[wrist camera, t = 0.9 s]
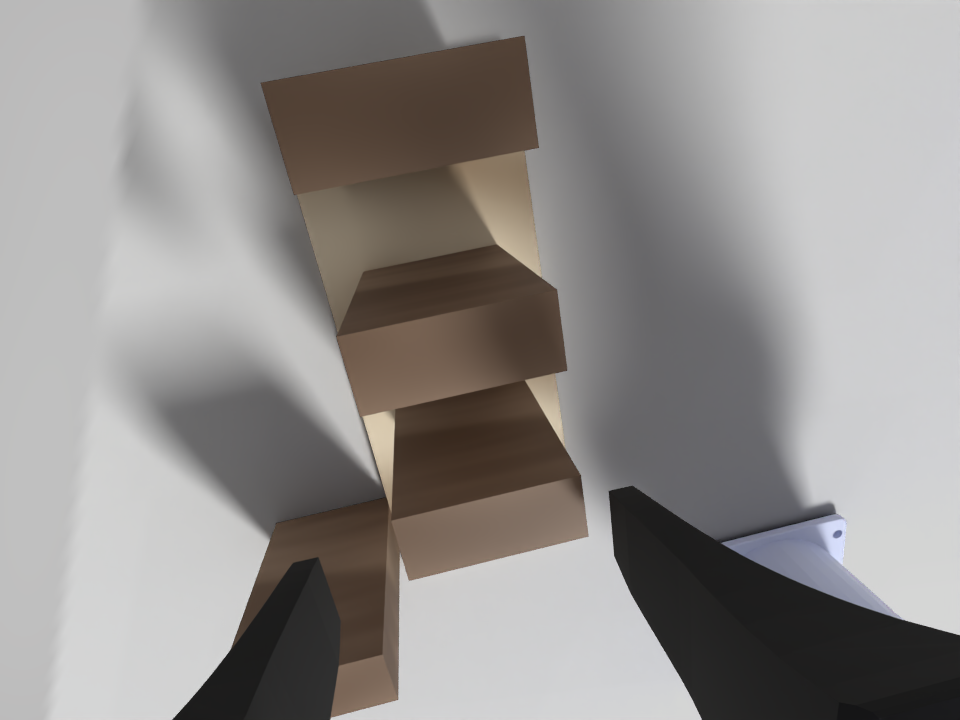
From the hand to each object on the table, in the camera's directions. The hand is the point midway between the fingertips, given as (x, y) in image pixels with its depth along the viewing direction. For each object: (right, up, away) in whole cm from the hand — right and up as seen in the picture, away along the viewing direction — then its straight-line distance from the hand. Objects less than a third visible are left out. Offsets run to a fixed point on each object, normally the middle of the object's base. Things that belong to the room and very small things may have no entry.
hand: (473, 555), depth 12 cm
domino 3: (-1, +8, +7) cm, 10 cm away
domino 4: (-1, +3, +9) cm, 9 cm away
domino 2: (-2, +12, +5) cm, 13 cm away
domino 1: (-6, -3, +10) cm, 12 cm away
